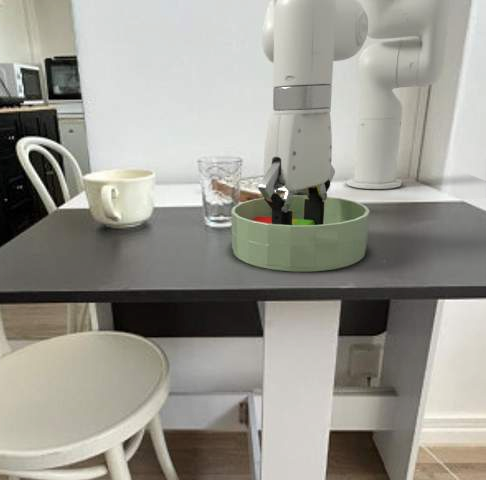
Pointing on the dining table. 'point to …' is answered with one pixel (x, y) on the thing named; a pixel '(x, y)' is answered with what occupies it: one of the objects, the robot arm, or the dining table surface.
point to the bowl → (301, 236)
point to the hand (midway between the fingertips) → (297, 230)
